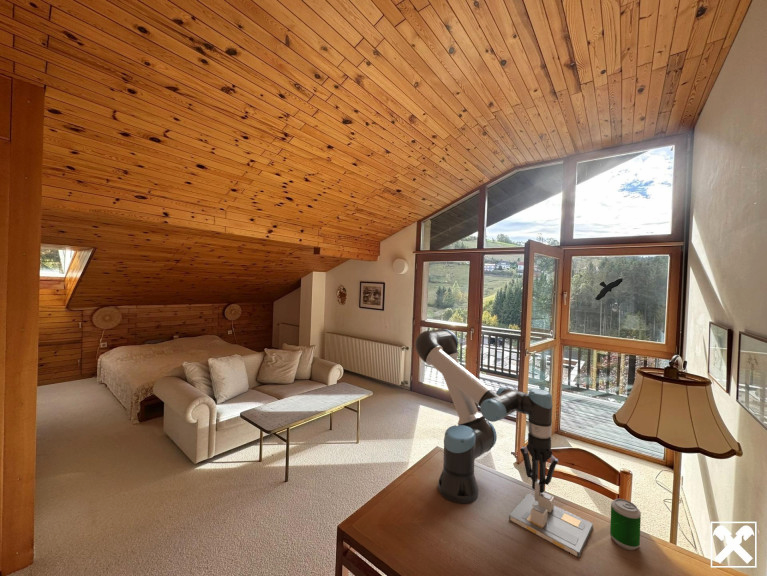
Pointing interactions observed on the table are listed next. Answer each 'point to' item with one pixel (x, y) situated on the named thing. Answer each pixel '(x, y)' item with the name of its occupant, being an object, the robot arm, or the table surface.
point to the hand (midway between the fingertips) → (538, 499)
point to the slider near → (539, 515)
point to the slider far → (546, 501)
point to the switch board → (554, 526)
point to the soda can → (625, 524)
